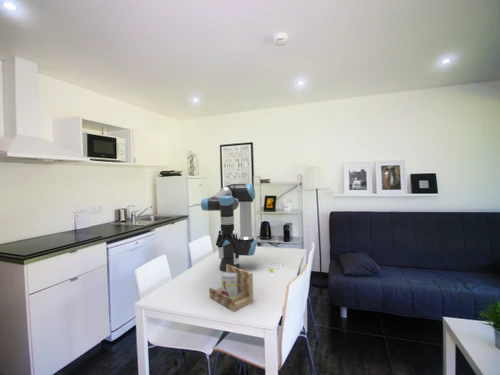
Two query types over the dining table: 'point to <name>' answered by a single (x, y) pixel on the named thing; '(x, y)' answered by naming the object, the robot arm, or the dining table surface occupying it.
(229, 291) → the ink box
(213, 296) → the wooden holder
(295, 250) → the dining table surface
